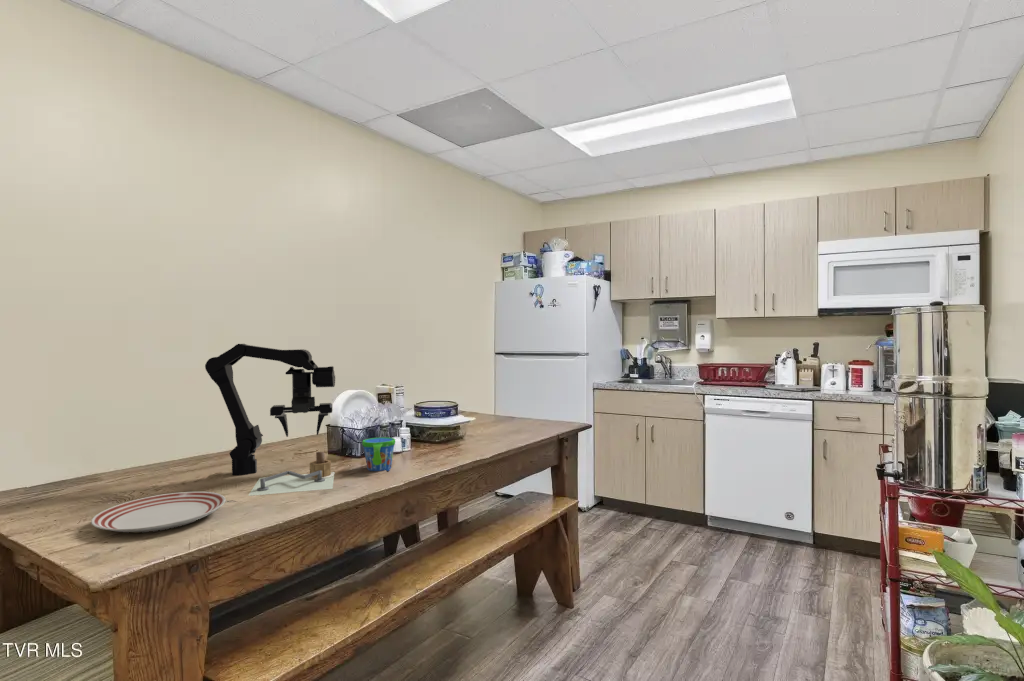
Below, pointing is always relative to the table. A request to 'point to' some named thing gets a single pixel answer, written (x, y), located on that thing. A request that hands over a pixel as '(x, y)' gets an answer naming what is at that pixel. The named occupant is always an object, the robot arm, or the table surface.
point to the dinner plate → (158, 512)
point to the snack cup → (379, 453)
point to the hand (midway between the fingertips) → (302, 435)
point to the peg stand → (321, 460)
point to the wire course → (291, 483)
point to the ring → (321, 468)
